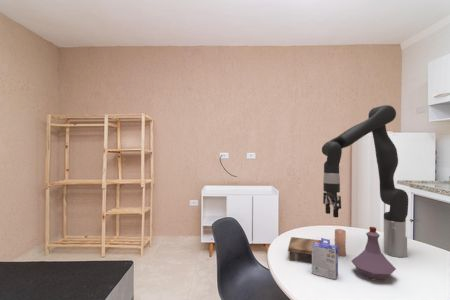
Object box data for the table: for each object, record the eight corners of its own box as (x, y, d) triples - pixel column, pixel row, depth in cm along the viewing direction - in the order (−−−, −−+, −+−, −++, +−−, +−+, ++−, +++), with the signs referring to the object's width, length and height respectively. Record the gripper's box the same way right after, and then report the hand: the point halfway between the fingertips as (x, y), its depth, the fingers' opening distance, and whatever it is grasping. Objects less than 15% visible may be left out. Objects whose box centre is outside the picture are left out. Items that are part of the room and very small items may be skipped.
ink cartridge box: (338, 274, 106) (338, 240, 106) (336, 280, 101) (336, 244, 101) (314, 268, 111) (314, 236, 111) (311, 273, 107) (311, 240, 107)
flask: (371, 263, 116) (371, 220, 116) (406, 281, 100) (406, 231, 100) (342, 269, 111) (342, 224, 111) (375, 288, 95) (374, 236, 95)
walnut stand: (323, 252, 129) (323, 240, 129) (324, 265, 114) (324, 252, 114) (291, 248, 134) (291, 236, 134) (288, 260, 119) (288, 248, 119)
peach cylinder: (345, 253, 128) (345, 229, 128) (346, 257, 123) (346, 232, 123) (334, 251, 130) (334, 228, 129) (335, 255, 125) (335, 231, 125)
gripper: (346, 183, 117) (346, 218, 116) (332, 181, 131) (332, 212, 130) (330, 183, 117) (330, 218, 116) (318, 181, 131) (318, 212, 130)
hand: (331, 215), depth 123 cm, fingers open, 8 cm apart
